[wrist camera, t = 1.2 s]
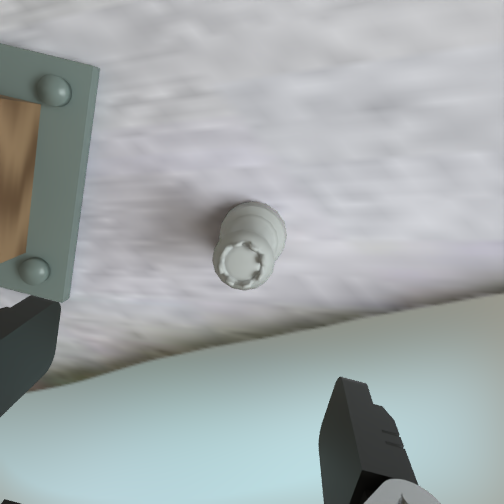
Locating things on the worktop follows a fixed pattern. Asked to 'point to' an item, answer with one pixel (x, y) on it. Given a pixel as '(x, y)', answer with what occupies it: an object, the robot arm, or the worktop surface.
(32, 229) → the baseplate
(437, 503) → the robot arm
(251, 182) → the worktop surface
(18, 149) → the stepped wooden plinth
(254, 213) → the rook chess piece
